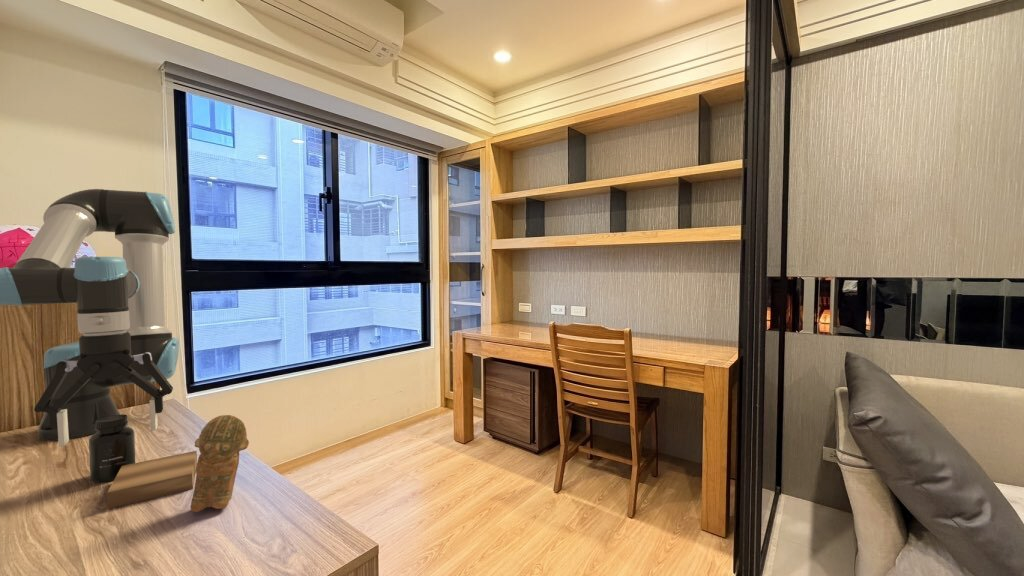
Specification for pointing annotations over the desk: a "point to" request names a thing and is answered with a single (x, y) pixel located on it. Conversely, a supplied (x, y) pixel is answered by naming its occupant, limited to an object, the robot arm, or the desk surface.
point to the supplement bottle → (110, 447)
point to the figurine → (218, 461)
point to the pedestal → (152, 479)
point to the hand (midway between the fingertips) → (111, 436)
